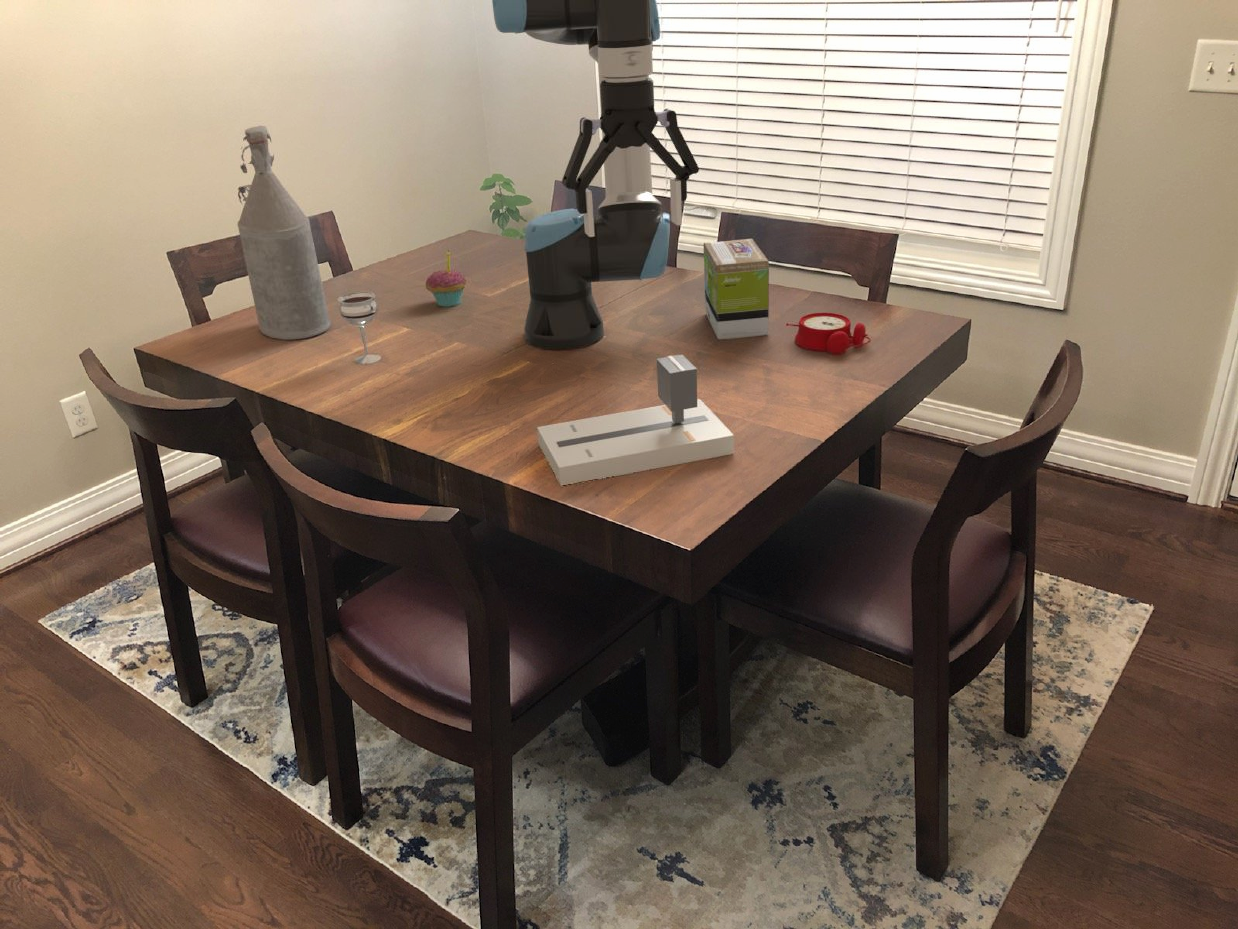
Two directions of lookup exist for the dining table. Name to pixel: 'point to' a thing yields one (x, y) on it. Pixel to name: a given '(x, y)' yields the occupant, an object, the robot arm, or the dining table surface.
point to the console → (632, 442)
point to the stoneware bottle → (279, 252)
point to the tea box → (736, 288)
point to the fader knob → (677, 385)
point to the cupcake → (446, 285)
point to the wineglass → (360, 317)
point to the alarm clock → (828, 333)
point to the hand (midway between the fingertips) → (633, 228)
